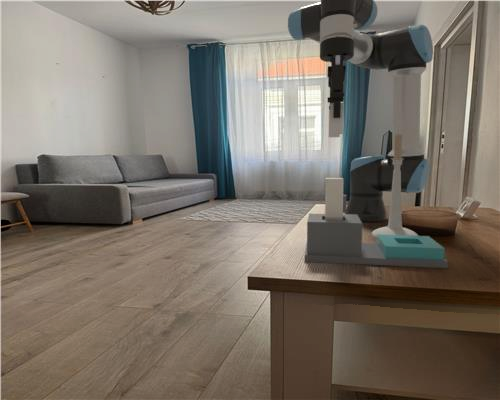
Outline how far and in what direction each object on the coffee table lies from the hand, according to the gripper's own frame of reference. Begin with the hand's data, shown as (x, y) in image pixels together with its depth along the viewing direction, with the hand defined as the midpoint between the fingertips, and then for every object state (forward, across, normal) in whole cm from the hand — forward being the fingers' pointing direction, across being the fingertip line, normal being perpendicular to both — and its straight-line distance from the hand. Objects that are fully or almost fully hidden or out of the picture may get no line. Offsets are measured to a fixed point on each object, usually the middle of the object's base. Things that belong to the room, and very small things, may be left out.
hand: (335, 136), depth 85 cm
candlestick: (+28, +23, -18) cm, 41 cm away
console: (+28, 0, -8) cm, 30 cm away
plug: (+22, 0, 0) cm, 22 cm away
